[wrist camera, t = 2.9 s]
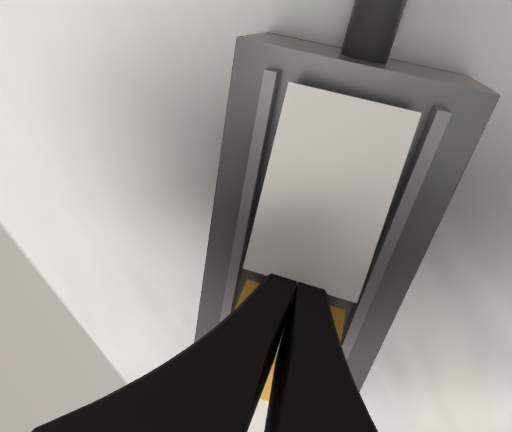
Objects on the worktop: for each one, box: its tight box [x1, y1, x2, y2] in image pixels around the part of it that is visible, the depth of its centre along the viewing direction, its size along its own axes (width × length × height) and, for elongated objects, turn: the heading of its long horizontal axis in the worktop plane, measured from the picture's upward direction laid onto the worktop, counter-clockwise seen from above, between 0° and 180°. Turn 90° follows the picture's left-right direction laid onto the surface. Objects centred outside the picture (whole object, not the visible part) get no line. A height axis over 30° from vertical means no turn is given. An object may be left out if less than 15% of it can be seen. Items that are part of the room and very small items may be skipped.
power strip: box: [194, 0, 500, 392], centre depth 13 cm, size 21×6×4 cm, turn 170°
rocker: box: [243, 82, 422, 303], centre depth 9 cm, size 4×3×1 cm, turn 170°
